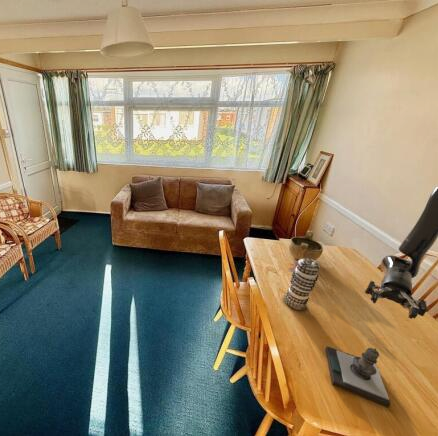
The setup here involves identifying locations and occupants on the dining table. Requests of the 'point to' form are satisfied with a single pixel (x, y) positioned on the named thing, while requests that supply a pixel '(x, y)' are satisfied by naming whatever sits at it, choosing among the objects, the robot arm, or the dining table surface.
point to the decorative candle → (302, 283)
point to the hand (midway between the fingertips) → (392, 308)
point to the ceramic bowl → (305, 247)
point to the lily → (294, 266)
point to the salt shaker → (365, 364)
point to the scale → (355, 378)
